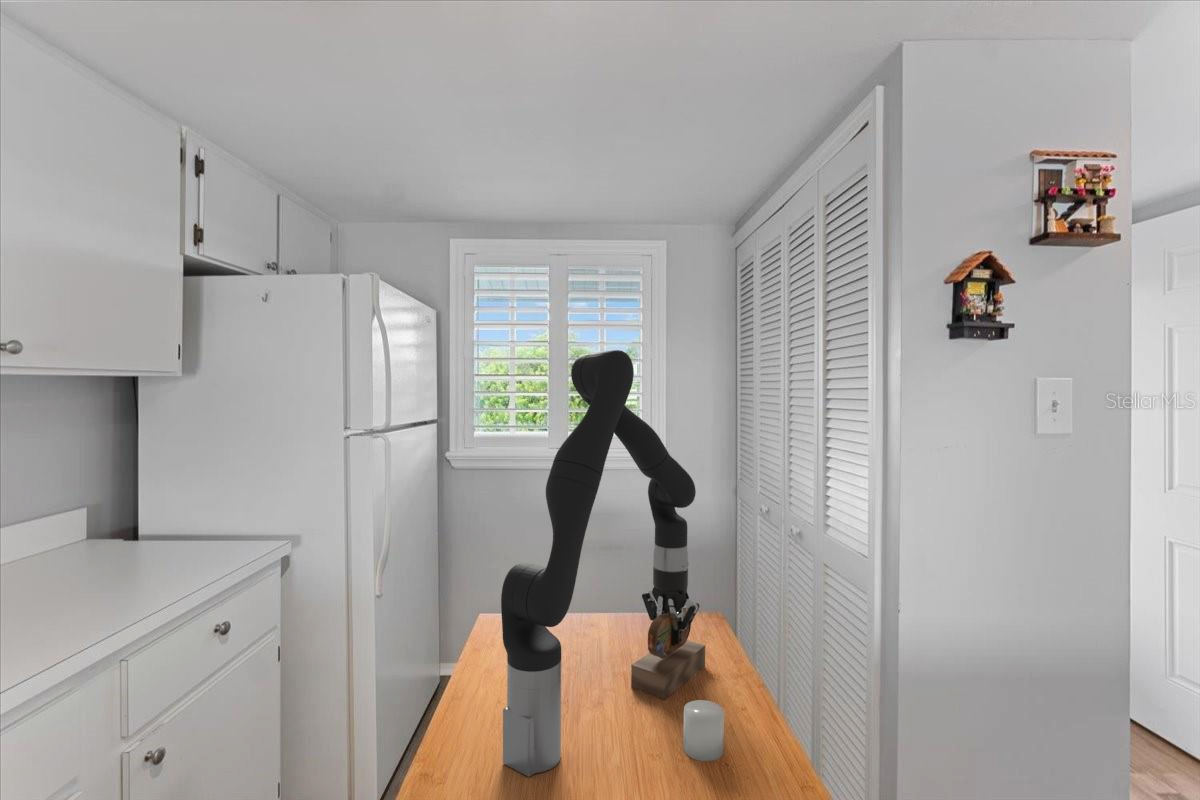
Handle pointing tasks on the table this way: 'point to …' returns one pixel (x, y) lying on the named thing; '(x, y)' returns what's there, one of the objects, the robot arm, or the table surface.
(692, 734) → the white rounded capsule
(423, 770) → the table surface
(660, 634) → the tin
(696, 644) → the brown rectangular block
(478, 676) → the table surface
